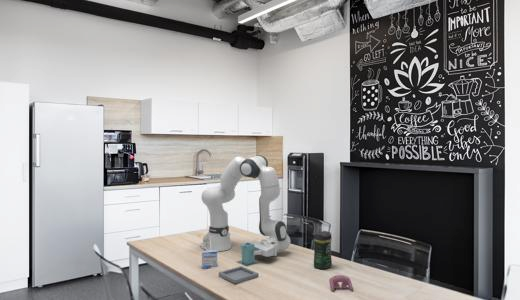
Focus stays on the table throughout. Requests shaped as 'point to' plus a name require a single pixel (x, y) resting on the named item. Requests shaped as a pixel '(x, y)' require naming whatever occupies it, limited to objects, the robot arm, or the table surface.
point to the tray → (238, 275)
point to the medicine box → (209, 259)
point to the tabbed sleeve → (247, 253)
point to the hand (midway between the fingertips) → (247, 251)
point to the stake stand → (248, 264)
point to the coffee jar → (322, 250)
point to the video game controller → (340, 278)
